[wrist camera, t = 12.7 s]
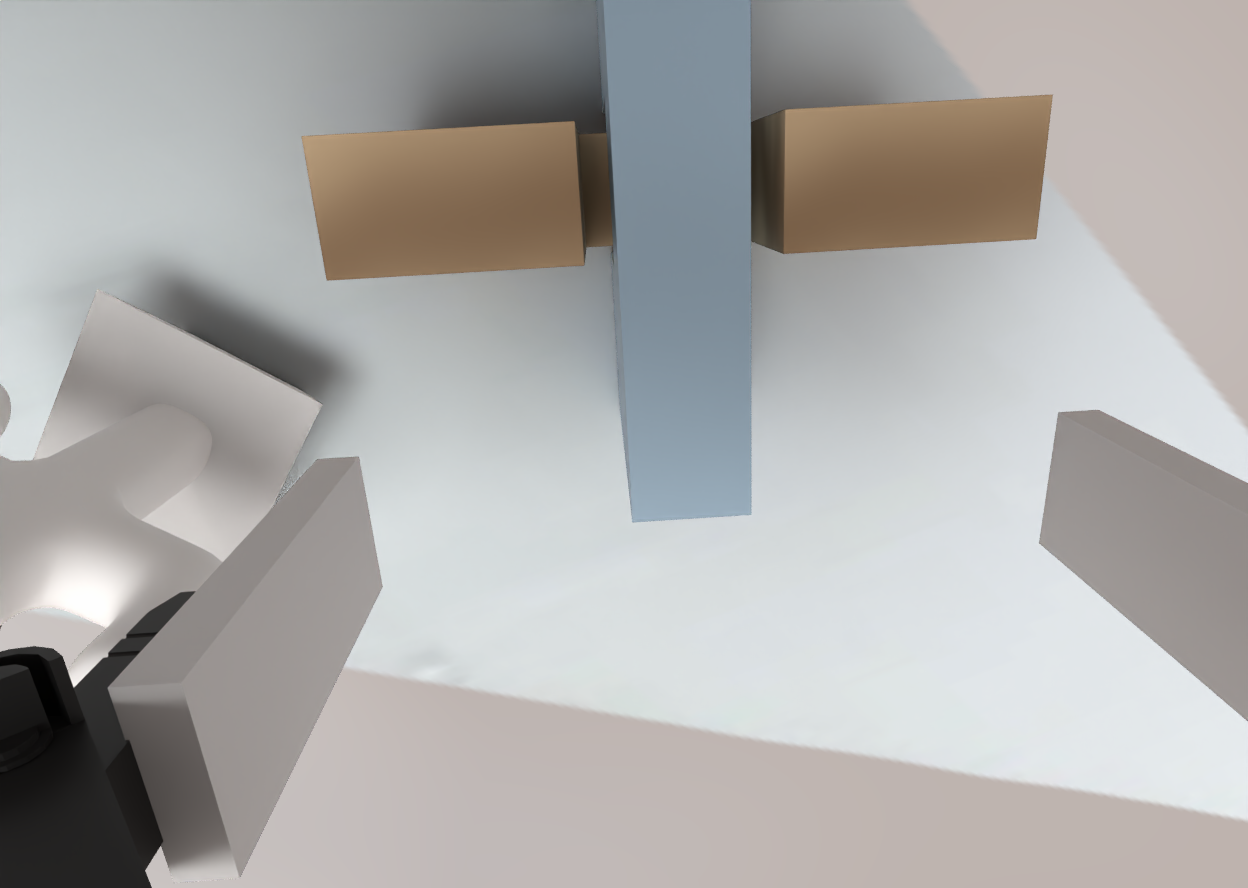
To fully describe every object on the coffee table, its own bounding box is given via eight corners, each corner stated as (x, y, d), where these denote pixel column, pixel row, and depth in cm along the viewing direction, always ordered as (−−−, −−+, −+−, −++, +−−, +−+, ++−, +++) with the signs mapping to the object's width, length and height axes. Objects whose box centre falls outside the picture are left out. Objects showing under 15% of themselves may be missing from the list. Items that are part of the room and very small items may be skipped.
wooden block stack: (409, 152, 26) (301, 135, 16) (886, 125, 26) (1052, 94, 17) (421, 245, 27) (326, 280, 17) (881, 218, 27) (1035, 239, 18)
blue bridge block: (590, -91, 24) (588, -269, 14) (688, -96, 24) (749, -277, 14) (620, 410, 29) (632, 522, 20) (700, 405, 29) (751, 514, 20)
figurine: (130, 258, 27) (-402, 347, 12) (384, 391, 28) (173, 601, 14) (63, 432, 28) (-466, 683, 14) (305, 547, 30) (49, 870, 16)
